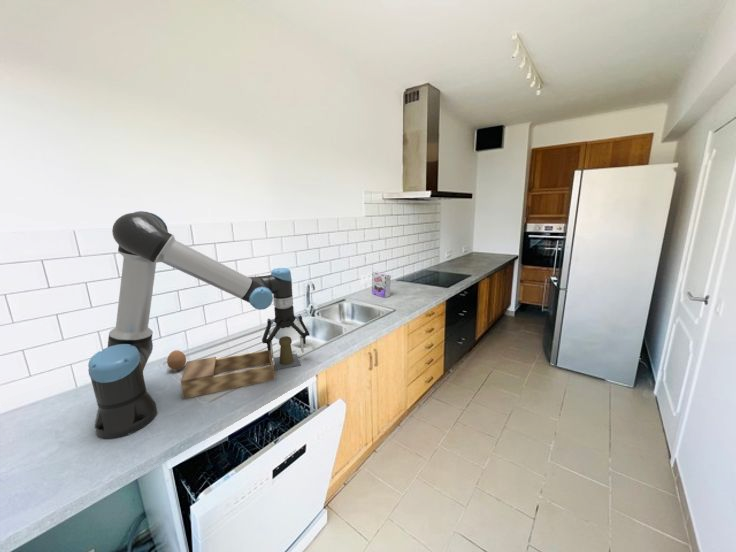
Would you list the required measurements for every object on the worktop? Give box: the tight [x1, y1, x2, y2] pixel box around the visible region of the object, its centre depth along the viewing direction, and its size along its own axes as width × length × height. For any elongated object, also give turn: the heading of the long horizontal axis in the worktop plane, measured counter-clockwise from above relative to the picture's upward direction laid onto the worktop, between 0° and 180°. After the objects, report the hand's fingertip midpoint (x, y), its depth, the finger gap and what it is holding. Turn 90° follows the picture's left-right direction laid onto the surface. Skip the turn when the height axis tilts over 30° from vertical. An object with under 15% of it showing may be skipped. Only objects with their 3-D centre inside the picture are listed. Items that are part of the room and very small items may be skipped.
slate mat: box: [273, 353, 302, 371], centre depth 128 cm, size 10×10×1 cm
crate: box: [180, 349, 276, 399], centre depth 115 cm, size 31×14×7 cm, turn 113°
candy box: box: [371, 271, 392, 299], centre depth 217 cm, size 14×6×16 cm, turn 43°
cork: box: [278, 335, 294, 365], centre depth 126 cm, size 6×6×11 cm
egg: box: [166, 349, 187, 371], centre depth 121 cm, size 6×6×8 cm
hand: (287, 353), depth 127 cm, fingers open, 12 cm apart
